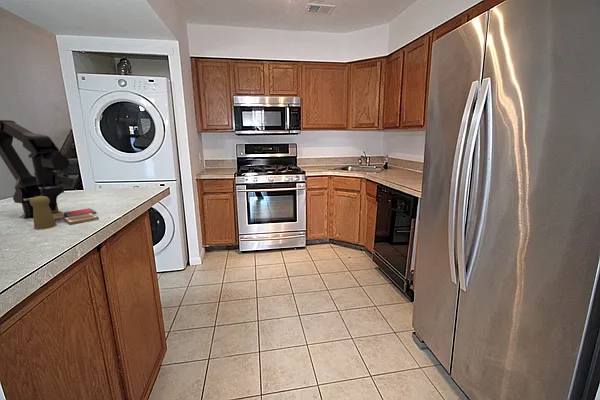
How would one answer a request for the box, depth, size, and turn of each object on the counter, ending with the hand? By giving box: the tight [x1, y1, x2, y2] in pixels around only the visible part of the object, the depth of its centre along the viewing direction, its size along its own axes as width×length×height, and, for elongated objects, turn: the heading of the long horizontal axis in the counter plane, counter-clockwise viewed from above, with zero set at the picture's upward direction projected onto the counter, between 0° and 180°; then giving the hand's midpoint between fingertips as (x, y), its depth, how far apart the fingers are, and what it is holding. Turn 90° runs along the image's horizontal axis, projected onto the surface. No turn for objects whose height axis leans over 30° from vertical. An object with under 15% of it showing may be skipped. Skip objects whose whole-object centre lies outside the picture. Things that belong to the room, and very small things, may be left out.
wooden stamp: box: [50, 200, 65, 220], centre depth 112 cm, size 5×5×9 cm
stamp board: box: [63, 213, 100, 226], centre depth 110 cm, size 9×9×1 cm
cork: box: [30, 196, 57, 230], centre depth 101 cm, size 6×6×11 cm
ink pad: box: [63, 207, 98, 218], centre depth 118 cm, size 9×9×1 cm
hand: (52, 209), depth 112 cm, fingers closed on wooden stamp, 3 cm apart
